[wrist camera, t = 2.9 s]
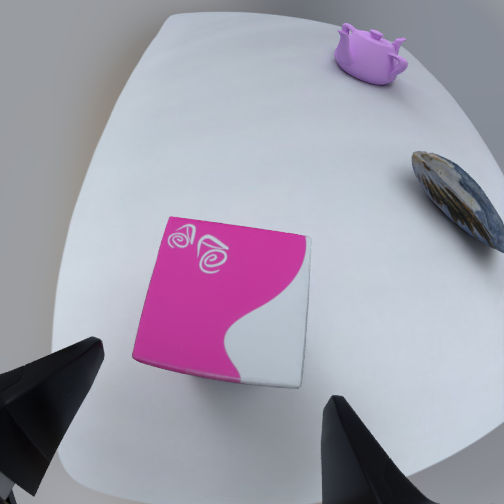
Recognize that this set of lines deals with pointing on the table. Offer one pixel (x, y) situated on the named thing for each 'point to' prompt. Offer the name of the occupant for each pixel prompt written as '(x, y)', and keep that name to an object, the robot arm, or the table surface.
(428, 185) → the seashell
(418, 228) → the table surface
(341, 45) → the teapot
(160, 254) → the supplement box
